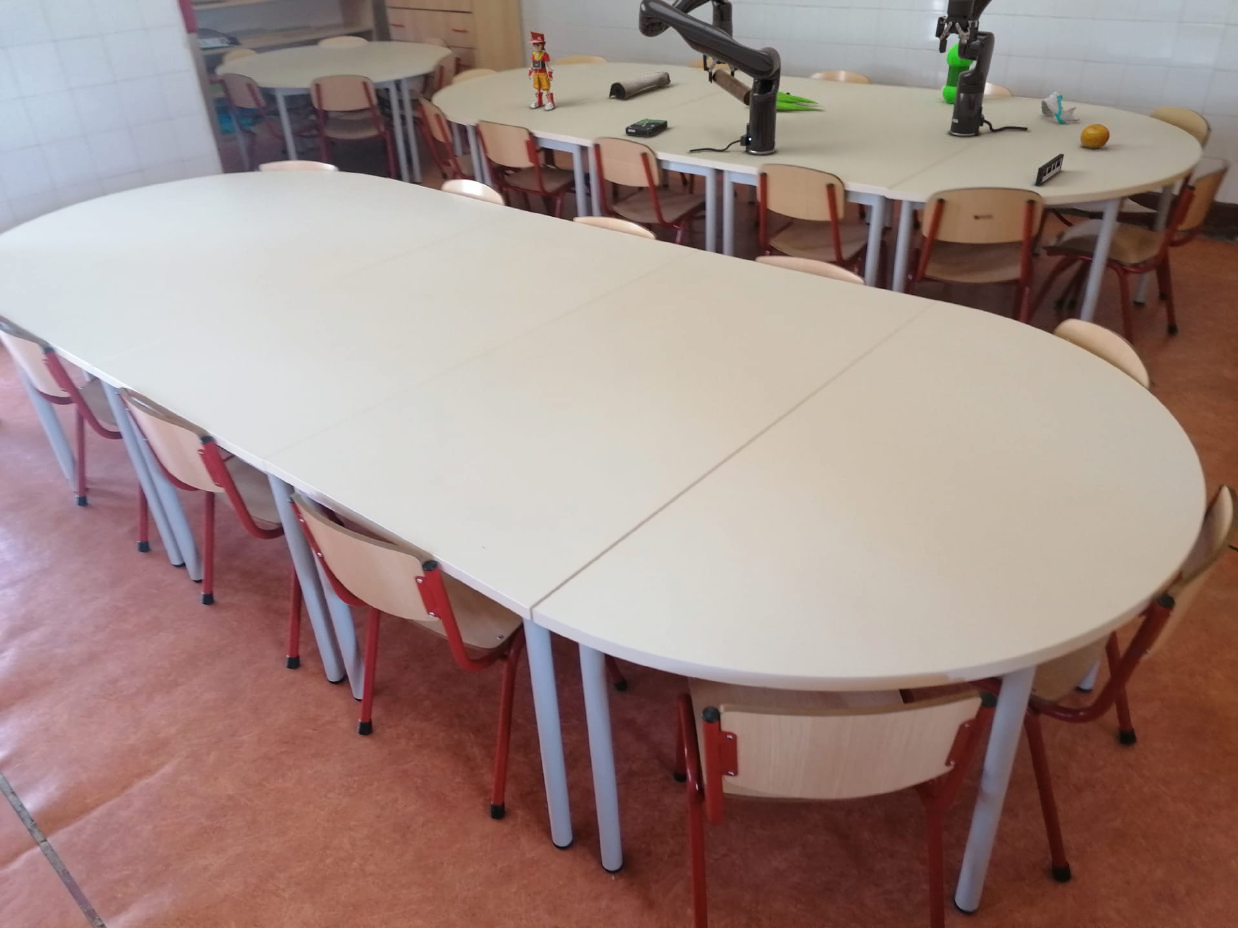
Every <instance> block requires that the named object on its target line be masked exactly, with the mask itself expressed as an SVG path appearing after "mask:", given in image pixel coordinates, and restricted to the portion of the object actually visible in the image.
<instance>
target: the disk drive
mask: <svg viewBox="0 0 1238 928" xmlns="http://www.w3.org/2000/svg"><path fill="white" fill-rule="evenodd" d="M667 128H668V120H663V119H652V118H651V119H650V118H643V119H640V120H639V121H636V122H634V123H633V124H630V125H628V126H626V127H625V129H624V130H625V135H629V136H637V137H651V136H653V135H655V134H657V133H659V132H661V131H663V130H665V129H667Z"/></svg>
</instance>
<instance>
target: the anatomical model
mask: <svg viewBox="0 0 1238 928" xmlns="http://www.w3.org/2000/svg"><path fill="white" fill-rule="evenodd" d="M1063 99H1064V96H1063V94H1060V93H1059V92H1058V91H1051V93H1050V95H1049V96H1047V97H1044V98H1042V99H1041V102H1040V103H1041V104H1040V105H1041V107H1040V108H1041V113H1042V114H1043V115H1046V116H1047V115H1052V114H1053V115H1054V116H1055V118H1056V120H1057V122H1058V123H1059V124H1066V123H1068V122H1078V121H1080V120H1081V118H1080V117H1079V116H1078V117H1077V116H1074V115H1073V114H1074V111H1076V110H1077V109H1078V108H1077V106H1072V107H1070V108H1068V109H1064V107H1063V105H1062V100H1063Z"/></svg>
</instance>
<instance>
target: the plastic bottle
mask: <svg viewBox="0 0 1238 928" xmlns="http://www.w3.org/2000/svg"><path fill="white" fill-rule="evenodd" d="M957 35H958V34H957ZM957 39H958V40H959V39H960V35H958V36H957ZM958 43H959V42H957V43H956V44H954V45H953V46H952V47H951V48H950V49H949V50H948V52H947V54H946V63H947V64H948V69H947V70H948V71H947V76H946V77H947V78H946V84H945V85H944V87H943V90H942V97H943V99H944V100H945V101H946V102H947V103H948V104H954V103H955V96H956V90H957V83H958V77H959V74H960V73H961V72H963V71H966V70H970V67H971V65H972V64H973V63H974V61H970V60H962V59H960V58H959V57H958Z"/></svg>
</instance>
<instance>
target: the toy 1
mask: <svg viewBox="0 0 1238 928" xmlns="http://www.w3.org/2000/svg"><path fill="white" fill-rule="evenodd" d="M529 33H530V35H531V36H528V37H527V38H528V39H529V40H528V41H527V43H529V44H530V43H531V44H532V48H533V50H534V51H533V52H532V55H531V58H530V59H531V63H530V66H528V74H527V75H528V76H527V77H528V79H529V80H531V75H532V74H533V84H532V85H533V86H532V87H533V88H534V89H535V90H536V92H534V95H535V97H536V100H535V101H533V102H531V105H530V108H531V109H535V108H538V107H542V106H544V101H543V100H544V99H543V95H544V92H546V94H545V97H546V99H547V103H546V104H545V106H544V110H546V111H549V110H553V109H554V107H555V106H556V105H555V99H554V92H551V91H550V90H551V86H552V84H551V82H552V81H553V80H554V77H553V73H554V71H555V70H554V69H552V68H551V63H550V61H551V59H550V58H551V57H550V54H549V53H548V52H547V50H546V48H545V46H546V44H547V41H545V35H544V33H543V32H542V33H539V32H535V31H529Z"/></svg>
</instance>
